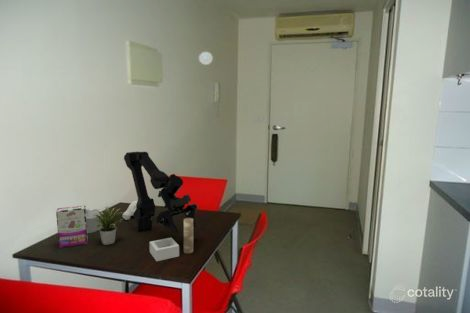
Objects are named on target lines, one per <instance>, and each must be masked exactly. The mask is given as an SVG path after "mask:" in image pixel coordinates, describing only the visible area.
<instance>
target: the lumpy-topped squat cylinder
mask: <svg viewBox="0 0 470 313" xmlns="http://www.w3.org/2000/svg"><path fill="white" fill-rule="evenodd" d="M98 211H99V209H98V208H94V209H92V210H91V209H89V208H87V209H86V221H87V234H89V233H95V232H97V231H99V229H100V228H102V224H101V223H100V222H98V221H95V219H99V218H98V217H97V216H95V215H98V216H100V217H101V215H100V213H99V212H98ZM100 212H101V213H103V212H102V211H100ZM96 213H97V214H96ZM92 215H93V216H92ZM103 215H104V216H105V214H104V213H103ZM101 218H102V217H101ZM99 220H100V219H99ZM97 224H101V225H100V227H97V226H96V225H97Z"/></svg>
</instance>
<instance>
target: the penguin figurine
mask: <svg viewBox="0 0 470 313" xmlns="http://www.w3.org/2000/svg"><path fill="white" fill-rule="evenodd" d="M137 201H138V200H134V201H132V202H131V203H130V204H129V206H128V207H127V209H126V211H123V212H122V215H124V216H122V219H123V220H125V221H127V220H128V221H129V220H131V216H133V217H134V215H133V213H134V212H135V211H136V209H137V208H136V204H137Z"/></svg>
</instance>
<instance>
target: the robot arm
mask: <svg viewBox="0 0 470 313" xmlns="http://www.w3.org/2000/svg"><path fill="white" fill-rule="evenodd" d="M123 160H124V162H125V165H126V167H127V168H128V169H129V170H130V172H131V175H132V178H133V183H134V186H135V192H136V196H137V200H136V201H137V204H136V208H137V209H136V211H135V212H134V213H133V218H134V219H135V220H137V232H138V233H139V232H150V231H151V232H152V229H153V219H152V217H155V215H156V209H157V207H156V204H155V200H154V199H153V198H151V197H150V196H149V193H148V190H147V186H146V182H145V178H144V173H143V169H142V167H143V168H144V170H145V171H146V173H147V175H149V178H150V181H149V182H150V184H151V185H152V187H153V189H155V190H159V189H161V190H159V191H158V194H157V197H158V198H161V199H162V201H163V203H164V206H163V207H164V209H167V210H163V211H161V212H159V214H158V215H157V216H156V218H155V222H156V224H157V225H160V226H164V227H165V228H167V229H168V230H170V231H171V232H173V233H175V234H176V235H178V234H179V230H178V228H177V227H176V223H175V222H174V220H173V218H174V217H177V216H181V215H183V214H184V215H185V218H193V229H196V228H197V225H196V221H195V220H196V219H195V214H196V212H197V210H198V209H199V208H198V205H197V204H196V203H191V204H190V203H189V202H191V201H192V199H191V196H190V195H189V194H184V195H183V196H182V197H180V196H177V195H176V194H177V193H178V192H179V190H180V189H181V188H182V187H183V185H184V180H183V178H181V177H180V176H178V175H176V174H175V173H172V174H170V175H168V174H167V173H166V172H164V171H162V170H160V169H159V168H158V167H157V165H156V163H155V162H154V161H153V159H152V158H151V157H150V156H149V152H148V151H130V152H126V153H125V155H124V157H123ZM186 205H187V206H186Z"/></svg>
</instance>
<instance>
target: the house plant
mask: <svg viewBox="0 0 470 313" xmlns="http://www.w3.org/2000/svg"><path fill="white" fill-rule="evenodd" d="M115 208H116V207H113V208H112V209H111V210H110V207H109V206H105V214H104V212H102V211H100V210H98V212H99V213H100V215H101V217H102V218H101V217H100V216H98V215H95V216H97V217H98V218H99V219H100V220H99V219H95V221H98V222H100V223H101V224H102V228H100V229H99V230H98V231H99V235H100V239H101V244H102V245H106V246H107V245H113V244H114V243H115V241H116V232H117V226H116V224H117V223H123V221H124V218H122V219H121V218H120V217H123V216H124V215H123V211H121V212H118V211H120V210H121V209H122V208H118V209H117V210H115ZM114 210H115V211H114ZM113 211H114V212H113ZM101 212H102V213H101ZM96 214H97V213H96ZM103 214H104V215H103ZM92 216H93V215H92ZM101 224H97V225H96V226H97V227H100V225H101Z"/></svg>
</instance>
